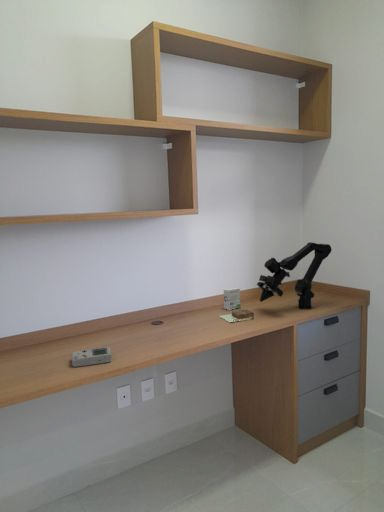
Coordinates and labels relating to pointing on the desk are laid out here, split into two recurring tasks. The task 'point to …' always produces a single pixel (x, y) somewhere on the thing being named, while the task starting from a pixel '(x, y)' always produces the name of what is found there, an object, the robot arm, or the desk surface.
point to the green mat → (228, 317)
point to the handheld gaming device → (91, 357)
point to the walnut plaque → (242, 314)
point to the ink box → (231, 298)
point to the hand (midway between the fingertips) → (260, 301)
